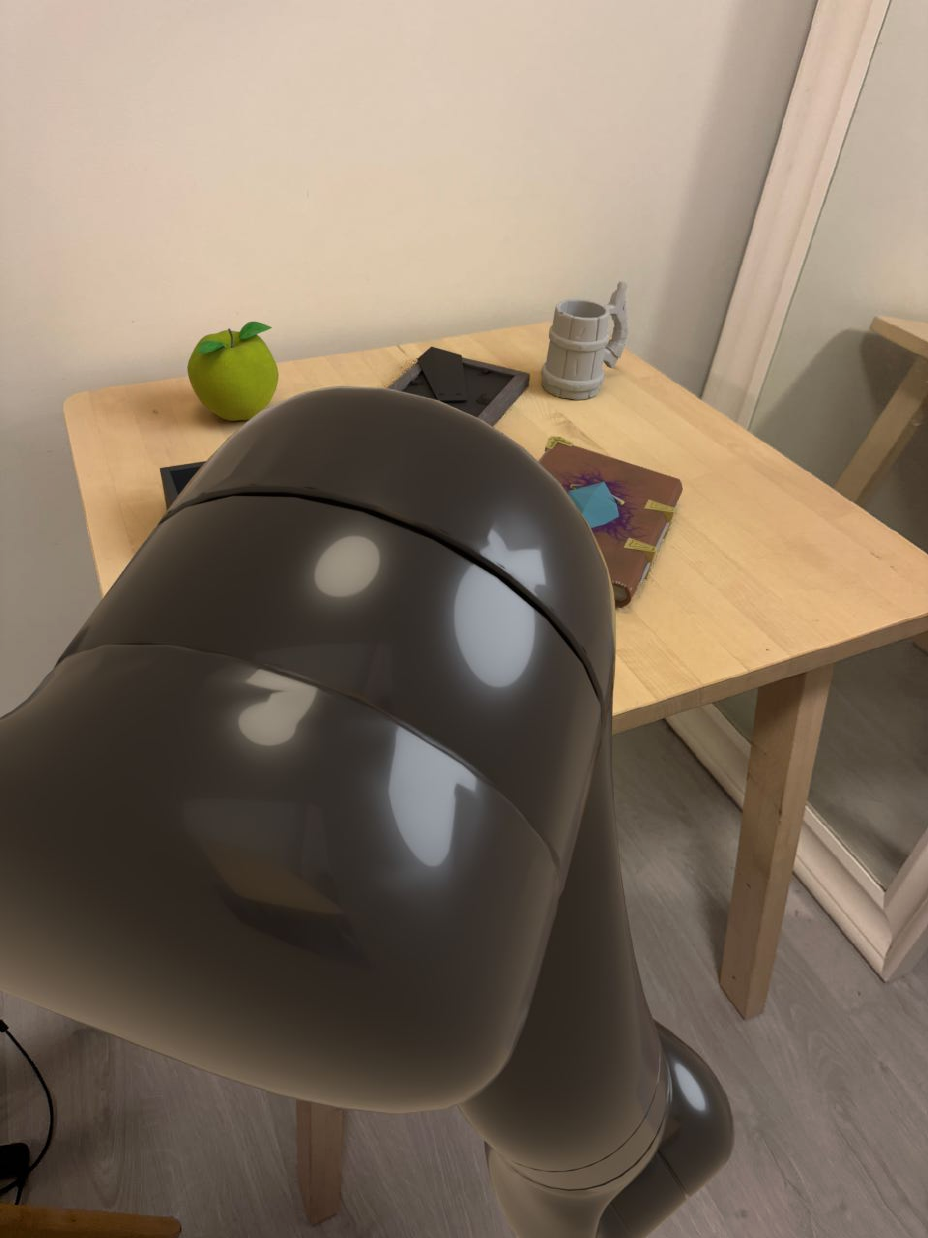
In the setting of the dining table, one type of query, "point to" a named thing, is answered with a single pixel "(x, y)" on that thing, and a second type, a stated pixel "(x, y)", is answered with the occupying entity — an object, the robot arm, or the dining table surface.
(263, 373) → the fruit
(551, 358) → the mug
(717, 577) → the dining table surface
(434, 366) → the picture frame
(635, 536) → the book
